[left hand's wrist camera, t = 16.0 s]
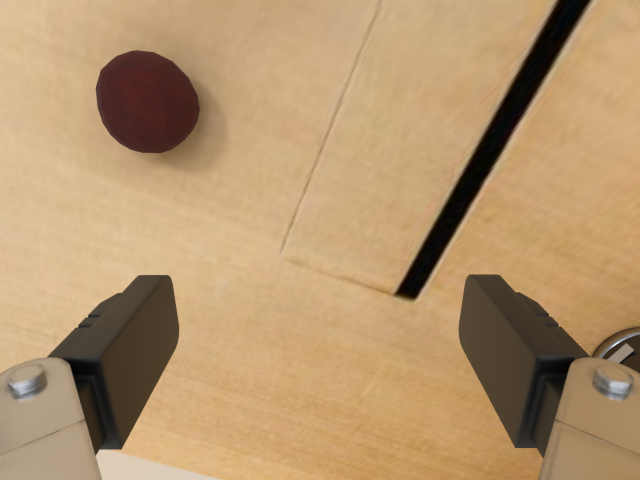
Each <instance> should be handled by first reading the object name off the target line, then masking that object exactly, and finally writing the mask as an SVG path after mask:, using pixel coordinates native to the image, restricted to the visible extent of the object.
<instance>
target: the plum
mask: <svg viewBox="0 0 640 480" xmlns="http://www.w3.org/2000/svg"><path fill="white" fill-rule="evenodd" d="M96 95H97V104H98V110H99V113H100V116H101V119H102V122H103V124H104V126H105V127H106V129H107V130H108V132H109V133H110V135H111V136H112V137H113V138H115V139H116V140H117V141H118V142H119V143H120V144H122V145H123V146H125V147H127V148H129V149H131V150H134V151H138V152H142V153H162V152H165V151H168V150H171V149H173V148H174V147H176V146H177V145H178V144H180V143H181V142H183V141H184V140H185V139H186V137H187V136H188V135H189V134H190V133H191V132H192V130H193V128H194V126H195V124H196V123H197V120H198V115H199V110H200V109H199V103H198V96H197V94H196V92H195V90H194V88H193V86H192V84H191V82H190V80H189V78H188V77H187V76H186V75H185V74H184V73H183V72H182V71H181V70H180V69H179V68H178V67H177V66H176V65H175V64H174V63H173V62H172V61H170V60H168V59H166V58H164V57H162V56H160V55H158V54H156V53H154V52H146V51H138V50H137V51H130V52H127V53H124V54H121V55H118V56H116V57H115V58H114V59H112V60H111V61H110V62H109V63H108V64H107V65H106V66H105V67H104V68H103V69H102V70H101V72H100V75H99V79H98V82H97V86H96Z"/></svg>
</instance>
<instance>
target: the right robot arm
mask: <svg viewBox="0 0 640 480" xmlns="http://www.w3.org/2000/svg"><path fill="white" fill-rule="evenodd" d="M592 358H601V359H606V360H610V361H613V362H616V363H619V364H622V365H624V366H626V367H629V368H631V369H632V370H634V371H636V372H638V373H639V374H640V327H638V328H632V329H628V330H625V331H622V332H620V333H618V334H616V335H614V336H612V337H611V338H609V339H608V340H607V341H605V342H604V343H603V344H602V345H601V346H600V347H599V348H598V349H597V351H596V352H595V354H594V355H593V357H592Z"/></svg>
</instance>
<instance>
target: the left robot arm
mask: <svg viewBox="0 0 640 480" xmlns="http://www.w3.org/2000/svg"><path fill="white" fill-rule="evenodd" d="M178 338H179V323H178V316H177V309H176V303H175V296H174V289H173V283H172V280H171V278H170V276H168V275H139V276H137V277H136V278H135V279H134V281H133V282H132V283H131V284H130V285H129V286H128V287H127V288H126V289H125V290H124V291H123V292H122V293H117V294H115V295H114V296H112V297H110V298H108V299H107V300H105V301H103V302H101V303H100V304H99V305H98V306H97V307H96V308H95V309H94V310H93V311H92V312H91V313H90V314H89V315H88V318H85V319H84V320H83V321H82V322H81V323H80V324H79V327H78V328H75V329H74V330H73V331H72V332H71V333H70V334H69V335H68V336H67V337H66V338H65V339H64V340H63V341H62V342H61V343H60V344H59V345H58V346H57V347H56V348H55V349H54V350H53V351H52V353H51V354H50V355H49V356H48V357H47V358H39V359H34V360H30V361H27V362H24V363H21V364H18V365H16V366H14V367H11V368H9V369H8V370H6V371H4V372H2V373H1V374H0V480H102V477H101V474H100V470H99V467H98V463H97V460H96V454H97V453H98V451H99V449H122V447H123V445H124V444H125V442H126V440H127V438H128V436H129V434H130V432H131V431H132V429H133V427H134V425H135V423H136V421H137V419H138V418H139V416H140V414H141V412H142V410H143V408H144V406H145V405H146V403H147V401H148V399H149V397H150V395H151V393H152V392H153V390H154V388H155V386H156V384H157V382H158V380H159V379H160V377H161V375H162V373H163V371H164V369H165V367H166V365H167V364H168V362H169V360H170V358H171V356H172V354H173V352H174V351H175V349H176V346H177V343H178ZM459 338H460V343H461V346H462V348H463V350H464V352H465V354H466V356H467V358H468V360H469V361H470V363H471V365H472V367H473V369H474V371H475V373H476V375H477V377H478V378H479V380H480V382H481V384H482V386H483V388H484V390H485V392H486V393H487V395H488V397H489V399H490V401H491V403H492V405H493V407H494V409H495V410H496V412H497V414H498V416H499V418H500V420H501V422H502V424H503V425H504V427H505V429H506V431H507V433H508V435H509V437H510V439H511V441H512V442H513V444H514V446H515V448H537V449H538V450H539V452H540V454H541V455H542V457H543V459H544V460H543V463H542V467H541V470H540V474H539V477H538V480H640V374H639V373H638V372H636V371H634V370H632V369H631V368H629V367H626V366H624V365H622V364H619V363H616V362H613V361H610V360H606V359H601V358H591V357H590V356H589V355H588V354H587V353H586V352H585V351H584V350H583V349H582V348H581V347H580V346H579V345H578V344H577V343H576V342H575V341H574V340H573V339H572V338H571V337H570V336H569V334H568V333H567V332H566V331H565V330H564V329H563V328H562V327H559V326H558V323H557V322H556V321H555V320H554V319H553V318H552V317H549V314H548V313H547V312H546V311H545V310H544V309H543V308H542V307H541V306H540V305H539V304H538V303H537V302H536V301H534V300H532V299H530V298H528V297H527V296H525V295H523V294H521V293H520V292H515V291H514V290H513V289H512V288H511V287H510V286H509V285H508V284H507V283H506V282H505V280H504V279H503V278H502V277H501V276H500V275H469V276H468V277H467V279H466V282H465V287H464V294H463V301H462V308H461V314H460V321H459Z"/></svg>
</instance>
